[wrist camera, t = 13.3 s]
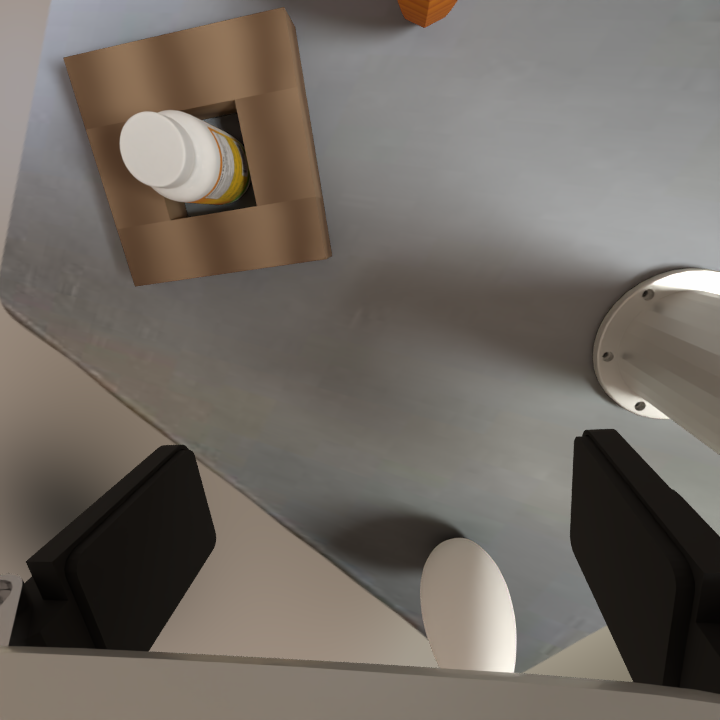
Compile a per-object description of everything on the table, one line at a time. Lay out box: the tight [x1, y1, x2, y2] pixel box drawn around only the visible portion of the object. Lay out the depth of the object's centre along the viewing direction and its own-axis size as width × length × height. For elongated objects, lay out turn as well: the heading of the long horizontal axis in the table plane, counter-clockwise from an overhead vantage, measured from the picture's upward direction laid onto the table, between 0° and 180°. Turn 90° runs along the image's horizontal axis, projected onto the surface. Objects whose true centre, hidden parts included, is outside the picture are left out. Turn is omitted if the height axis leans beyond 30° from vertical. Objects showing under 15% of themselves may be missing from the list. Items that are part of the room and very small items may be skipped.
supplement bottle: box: [120, 110, 251, 205], centre depth 28 cm, size 5×5×10 cm
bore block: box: [63, 7, 332, 286], centre depth 31 cm, size 16×16×3 cm
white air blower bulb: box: [420, 538, 516, 673], centre depth 34 cm, size 8×8×18 cm
